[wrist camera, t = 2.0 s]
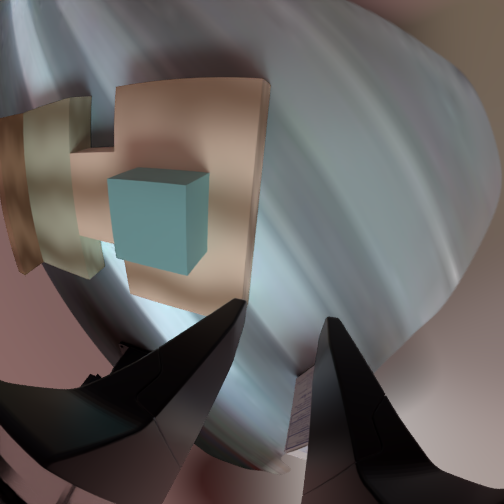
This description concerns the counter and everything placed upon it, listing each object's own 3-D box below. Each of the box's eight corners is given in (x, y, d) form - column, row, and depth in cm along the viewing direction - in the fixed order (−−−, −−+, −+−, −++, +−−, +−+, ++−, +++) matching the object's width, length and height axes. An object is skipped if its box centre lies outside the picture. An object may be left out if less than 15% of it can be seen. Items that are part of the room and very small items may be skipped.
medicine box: (295, 376, 25) (280, 453, 17) (325, 354, 22) (317, 440, 15) (350, 402, 25) (346, 471, 18) (380, 384, 23) (384, 458, 15)
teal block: (207, 251, 17) (187, 276, 14) (141, 238, 18) (116, 258, 15) (209, 172, 15) (185, 185, 12) (137, 167, 15) (107, 178, 13)
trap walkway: (248, 303, 21) (227, 353, 17) (51, 249, 25) (19, 271, 20) (270, 84, 14) (248, 67, 9) (35, 112, 18) (-7, 121, 13)
